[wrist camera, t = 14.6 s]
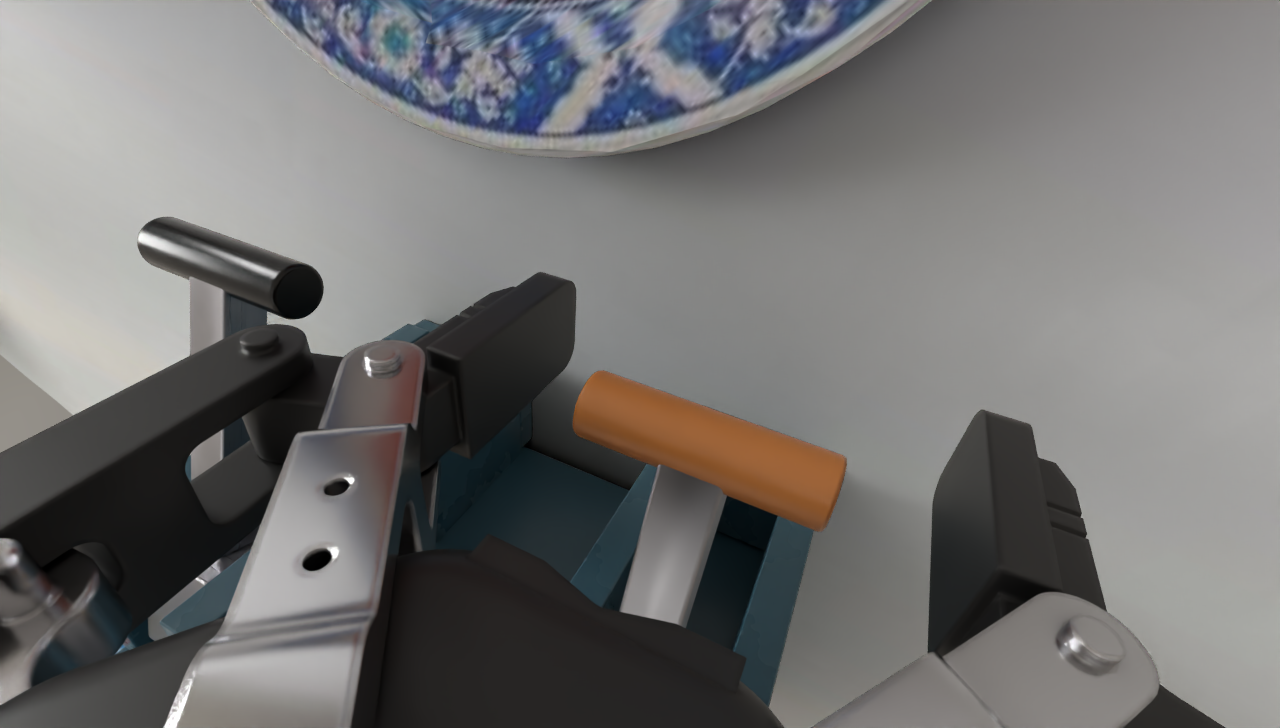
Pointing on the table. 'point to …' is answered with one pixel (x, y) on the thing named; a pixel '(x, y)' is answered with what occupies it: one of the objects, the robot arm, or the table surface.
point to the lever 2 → (698, 482)
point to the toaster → (594, 535)
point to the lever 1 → (224, 328)
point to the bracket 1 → (456, 496)
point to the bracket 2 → (769, 594)
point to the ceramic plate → (580, 63)
